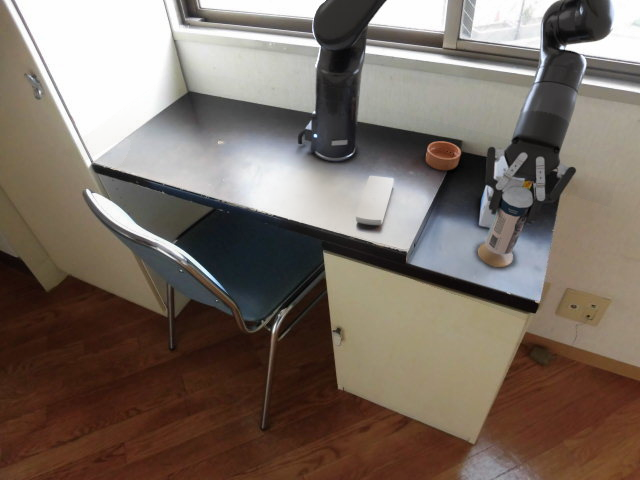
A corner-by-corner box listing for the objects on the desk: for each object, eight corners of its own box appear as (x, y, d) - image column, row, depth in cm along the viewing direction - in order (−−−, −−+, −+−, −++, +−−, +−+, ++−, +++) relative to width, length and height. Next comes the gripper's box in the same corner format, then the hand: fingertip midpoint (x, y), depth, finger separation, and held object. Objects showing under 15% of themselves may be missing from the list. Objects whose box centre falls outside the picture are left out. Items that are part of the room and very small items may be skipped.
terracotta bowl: (422, 166, 104) (424, 155, 102) (428, 150, 109) (430, 138, 107) (455, 173, 102) (458, 162, 100) (459, 156, 107) (463, 145, 105)
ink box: (480, 199, 96) (501, 135, 86) (505, 204, 95) (530, 140, 85) (478, 226, 90) (500, 161, 80) (504, 231, 89) (531, 166, 79)
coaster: (476, 262, 83) (476, 260, 83) (479, 240, 87) (480, 238, 87) (511, 271, 82) (512, 269, 81) (513, 248, 86) (514, 246, 85)
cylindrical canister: (513, 258, 81) (537, 204, 73) (485, 254, 82) (505, 200, 74) (511, 239, 85) (533, 186, 76) (483, 235, 85) (502, 182, 77)
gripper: (500, 100, 75) (466, 203, 75) (599, 121, 70) (561, 230, 71) (497, 115, 82) (465, 209, 82) (586, 135, 77) (552, 234, 78)
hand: (510, 218), depth 76 cm, fingers closed on cylindrical canister, 4 cm apart
